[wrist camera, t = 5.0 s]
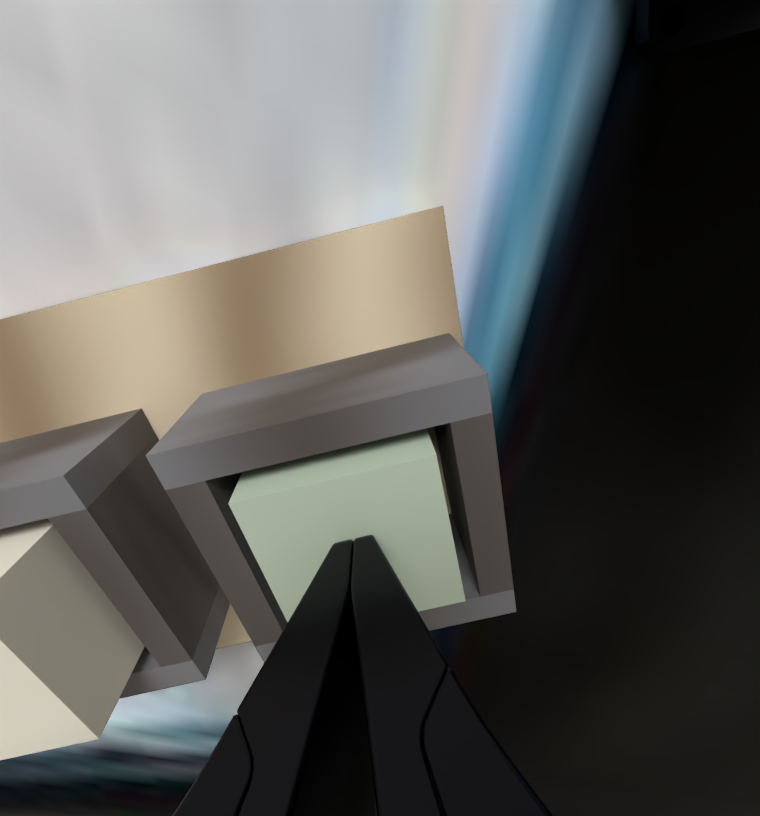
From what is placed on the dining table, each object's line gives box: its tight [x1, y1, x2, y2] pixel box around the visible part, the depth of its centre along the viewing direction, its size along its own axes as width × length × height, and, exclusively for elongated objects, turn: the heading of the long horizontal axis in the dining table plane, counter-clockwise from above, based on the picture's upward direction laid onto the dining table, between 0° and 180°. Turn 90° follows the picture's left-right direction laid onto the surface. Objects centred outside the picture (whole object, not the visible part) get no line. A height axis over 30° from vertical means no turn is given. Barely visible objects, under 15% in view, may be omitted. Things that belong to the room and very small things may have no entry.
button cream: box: [0, 518, 145, 760], centre depth 9 cm, size 4×4×3 cm
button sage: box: [228, 428, 466, 622], centre depth 9 cm, size 4×4×3 cm
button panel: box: [0, 206, 516, 698], centre depth 11 cm, size 23×12×4 cm, turn 103°
